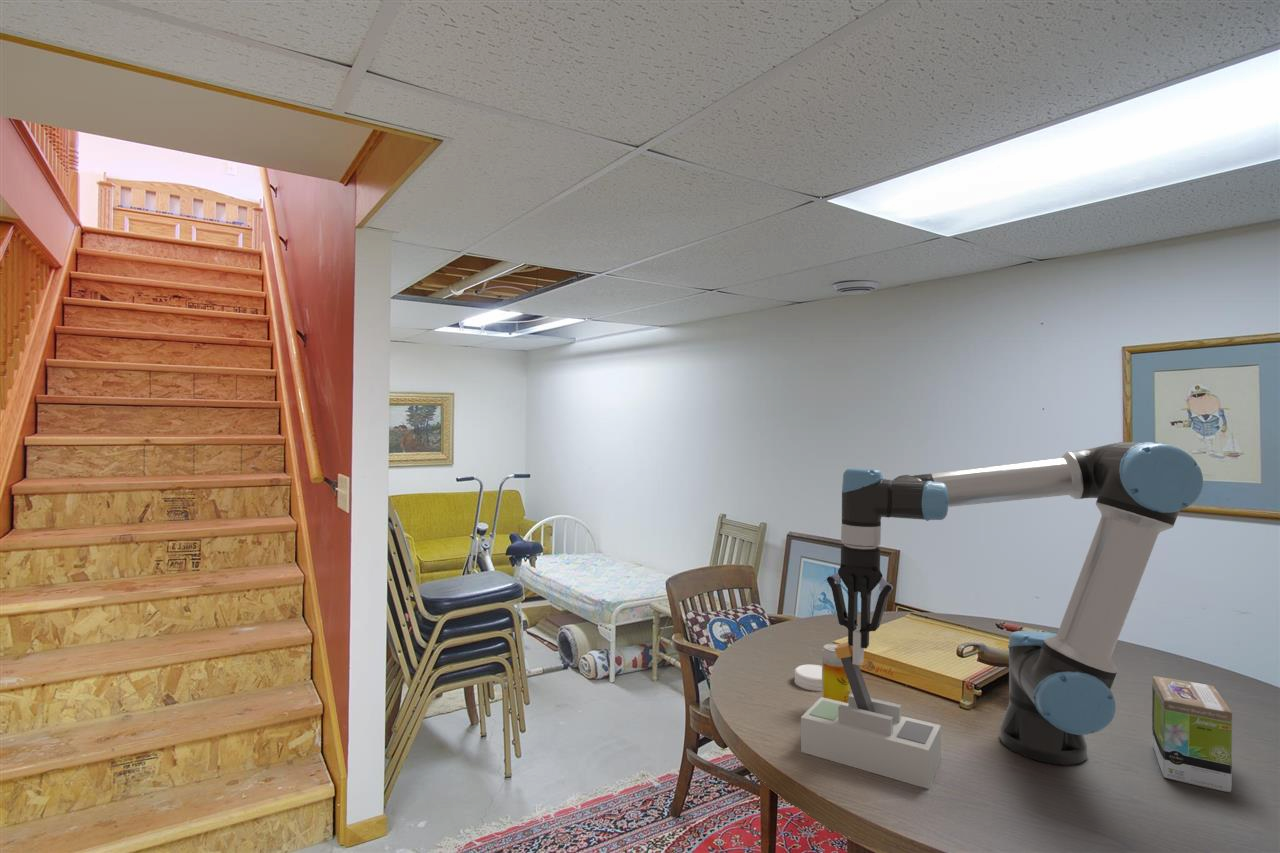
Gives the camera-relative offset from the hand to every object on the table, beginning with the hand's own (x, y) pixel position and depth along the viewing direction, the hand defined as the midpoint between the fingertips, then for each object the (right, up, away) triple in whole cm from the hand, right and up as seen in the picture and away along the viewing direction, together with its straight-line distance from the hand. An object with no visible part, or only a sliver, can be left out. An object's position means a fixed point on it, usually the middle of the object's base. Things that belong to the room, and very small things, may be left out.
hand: (858, 662), depth 129 cm
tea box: (+62, -18, -6) cm, 65 cm away
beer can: (+1, -19, +19) cm, 27 cm away
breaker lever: (+2, -11, -1) cm, 11 cm away
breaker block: (+2, -18, -1) cm, 18 cm away
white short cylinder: (+1, -19, +36) cm, 41 cm away
